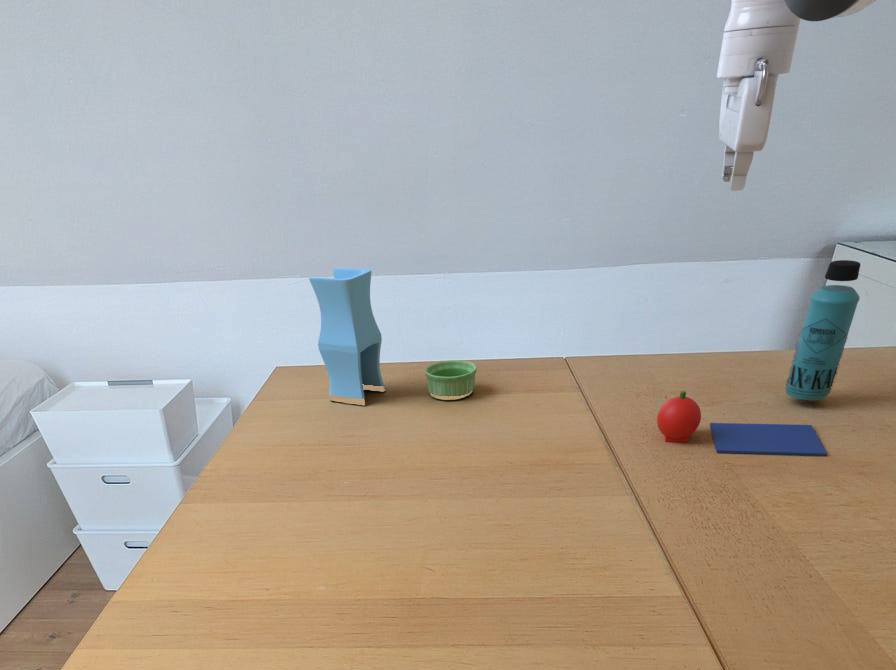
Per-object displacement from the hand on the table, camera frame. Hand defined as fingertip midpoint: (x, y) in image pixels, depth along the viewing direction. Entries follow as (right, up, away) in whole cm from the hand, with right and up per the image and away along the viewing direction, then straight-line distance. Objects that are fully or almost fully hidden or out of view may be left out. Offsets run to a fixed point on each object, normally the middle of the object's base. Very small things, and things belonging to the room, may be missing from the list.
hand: (731, 185), depth 99 cm
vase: (-56, -21, +27) cm, 65 cm away
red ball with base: (-7, -35, +4) cm, 36 cm away
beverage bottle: (+16, -27, +11) cm, 34 cm away
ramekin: (-39, -21, +25) cm, 50 cm away
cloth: (+5, -36, +1) cm, 36 cm away
